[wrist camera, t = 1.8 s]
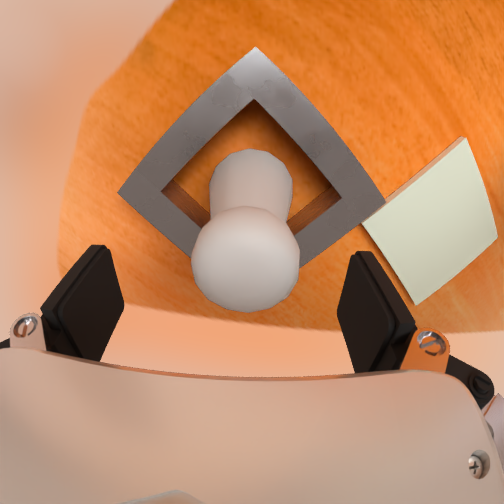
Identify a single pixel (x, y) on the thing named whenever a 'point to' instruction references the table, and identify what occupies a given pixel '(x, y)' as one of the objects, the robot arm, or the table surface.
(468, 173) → the mat
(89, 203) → the table surface
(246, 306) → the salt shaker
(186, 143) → the grey square frame
